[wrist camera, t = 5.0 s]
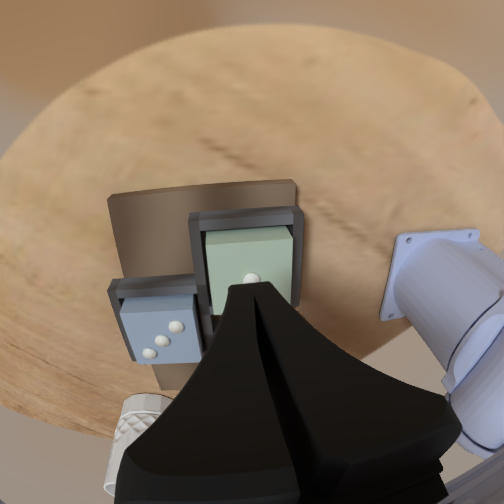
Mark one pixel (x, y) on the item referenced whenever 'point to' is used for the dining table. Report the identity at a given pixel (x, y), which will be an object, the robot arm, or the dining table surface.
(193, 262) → the board
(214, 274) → the tile one
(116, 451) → the white cup
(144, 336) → the tile three
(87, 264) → the dining table surface
